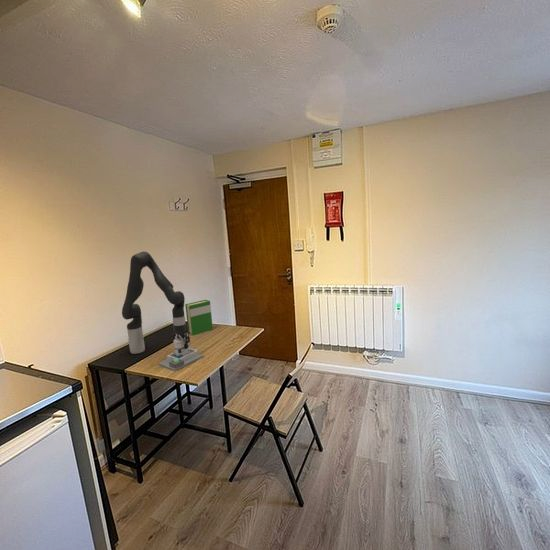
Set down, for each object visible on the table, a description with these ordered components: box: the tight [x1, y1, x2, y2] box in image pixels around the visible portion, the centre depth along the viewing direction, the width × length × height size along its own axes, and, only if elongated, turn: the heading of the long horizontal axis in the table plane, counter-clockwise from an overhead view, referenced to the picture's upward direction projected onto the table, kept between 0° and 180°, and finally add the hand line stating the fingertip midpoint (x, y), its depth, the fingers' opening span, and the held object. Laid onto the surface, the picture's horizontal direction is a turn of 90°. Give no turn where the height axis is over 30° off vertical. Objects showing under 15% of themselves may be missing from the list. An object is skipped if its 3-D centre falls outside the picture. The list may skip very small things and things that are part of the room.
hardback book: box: [184, 299, 214, 336], centre depth 241 cm, size 18×7×24 cm, turn 131°
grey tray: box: [157, 347, 205, 372], centre depth 190 cm, size 17×22×4 cm
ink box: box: [173, 337, 191, 358], centre depth 193 cm, size 8×5×12 cm, turn 129°
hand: (182, 347), depth 193 cm, fingers open, 8 cm apart
